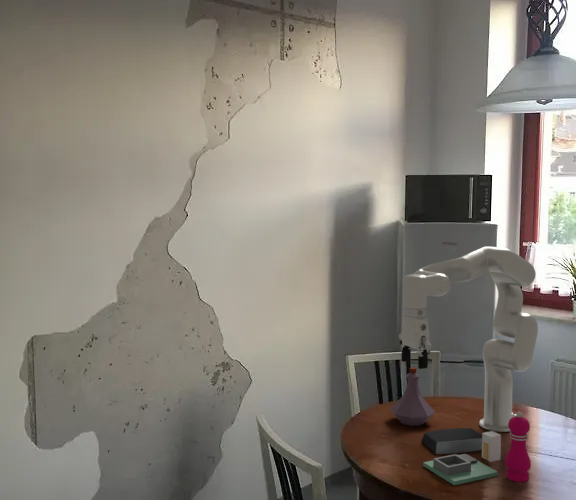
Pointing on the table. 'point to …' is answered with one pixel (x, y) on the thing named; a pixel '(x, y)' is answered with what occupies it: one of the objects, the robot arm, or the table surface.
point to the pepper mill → (518, 450)
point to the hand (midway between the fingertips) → (414, 364)
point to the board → (459, 469)
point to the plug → (491, 446)
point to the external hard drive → (453, 440)
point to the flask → (412, 403)
